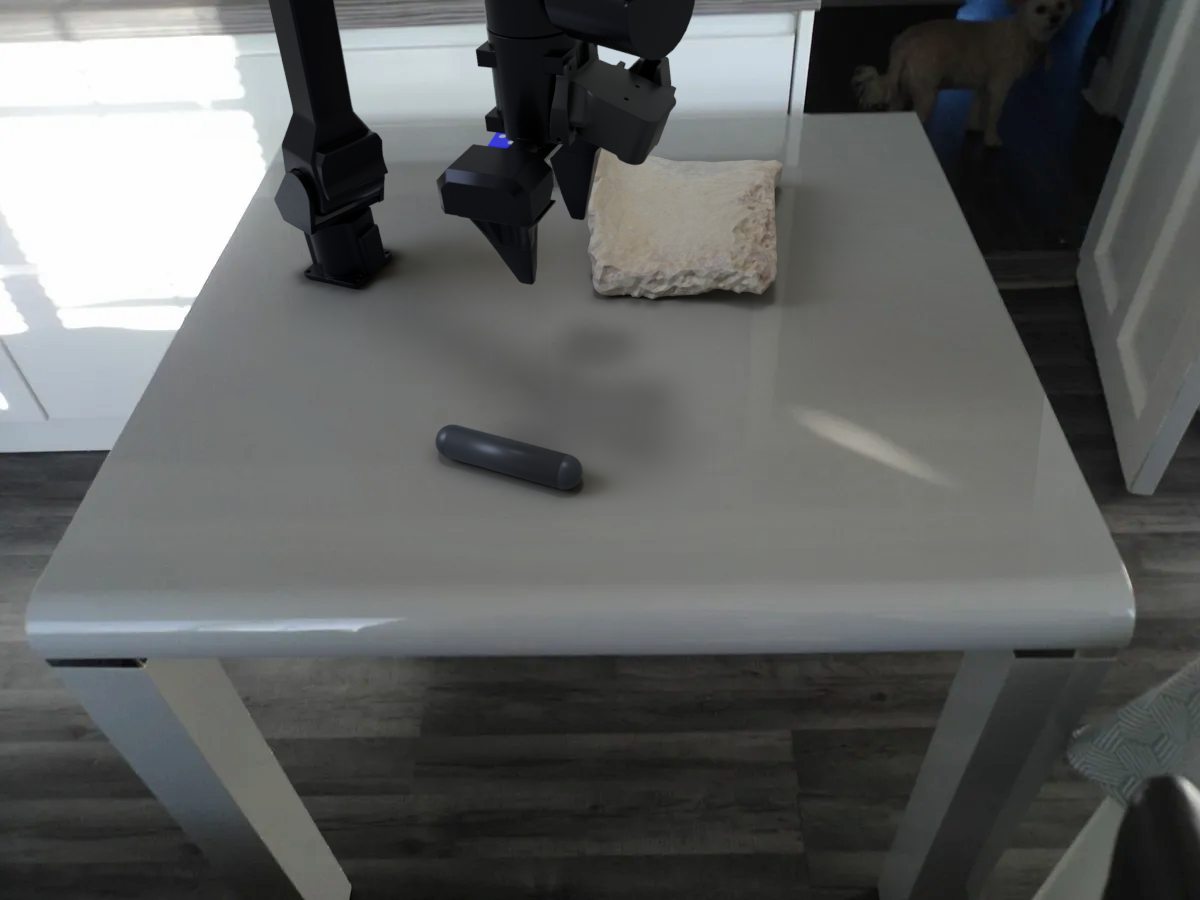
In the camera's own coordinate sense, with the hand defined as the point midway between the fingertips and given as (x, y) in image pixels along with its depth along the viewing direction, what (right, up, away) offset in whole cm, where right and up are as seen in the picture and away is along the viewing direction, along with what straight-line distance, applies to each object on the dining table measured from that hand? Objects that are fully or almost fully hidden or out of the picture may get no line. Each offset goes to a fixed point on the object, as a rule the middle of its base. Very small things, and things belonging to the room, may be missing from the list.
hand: (554, 249), depth 66 cm
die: (-6, +16, +37) cm, 40 cm away
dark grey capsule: (-3, -16, +3) cm, 17 cm away
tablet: (+11, +7, +26) cm, 30 cm away
